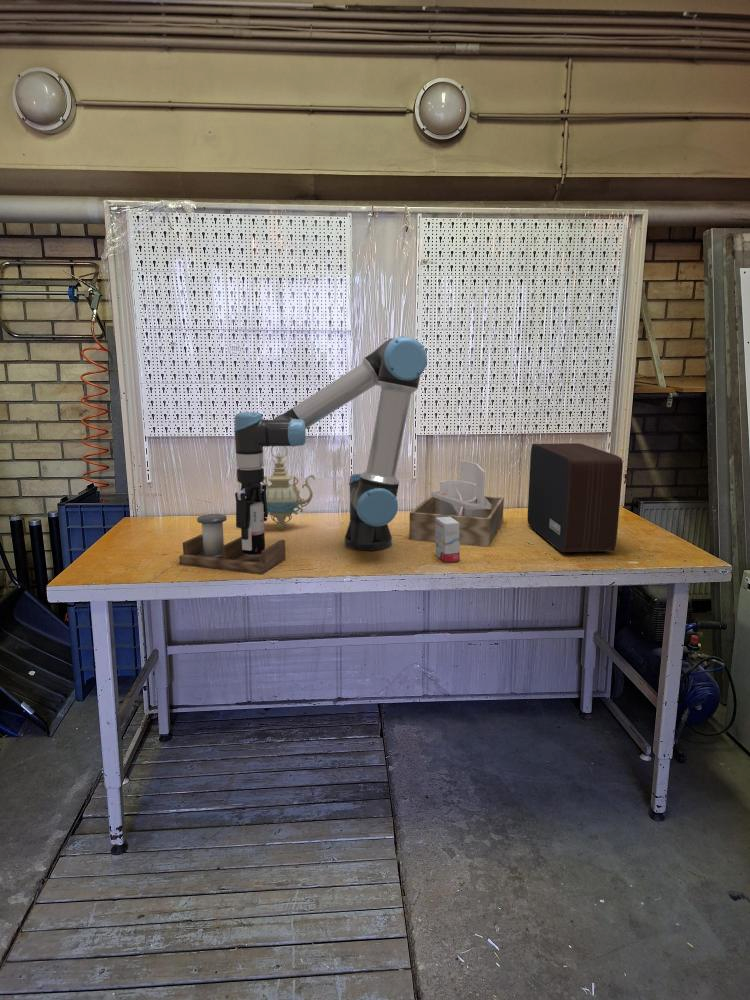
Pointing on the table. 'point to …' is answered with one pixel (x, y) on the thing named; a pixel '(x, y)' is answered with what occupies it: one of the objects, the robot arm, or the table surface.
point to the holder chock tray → (469, 527)
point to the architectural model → (464, 493)
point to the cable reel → (212, 534)
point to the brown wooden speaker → (575, 496)
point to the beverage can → (256, 529)
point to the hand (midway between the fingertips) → (253, 546)
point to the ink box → (447, 539)
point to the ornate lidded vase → (283, 493)
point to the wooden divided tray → (233, 556)
